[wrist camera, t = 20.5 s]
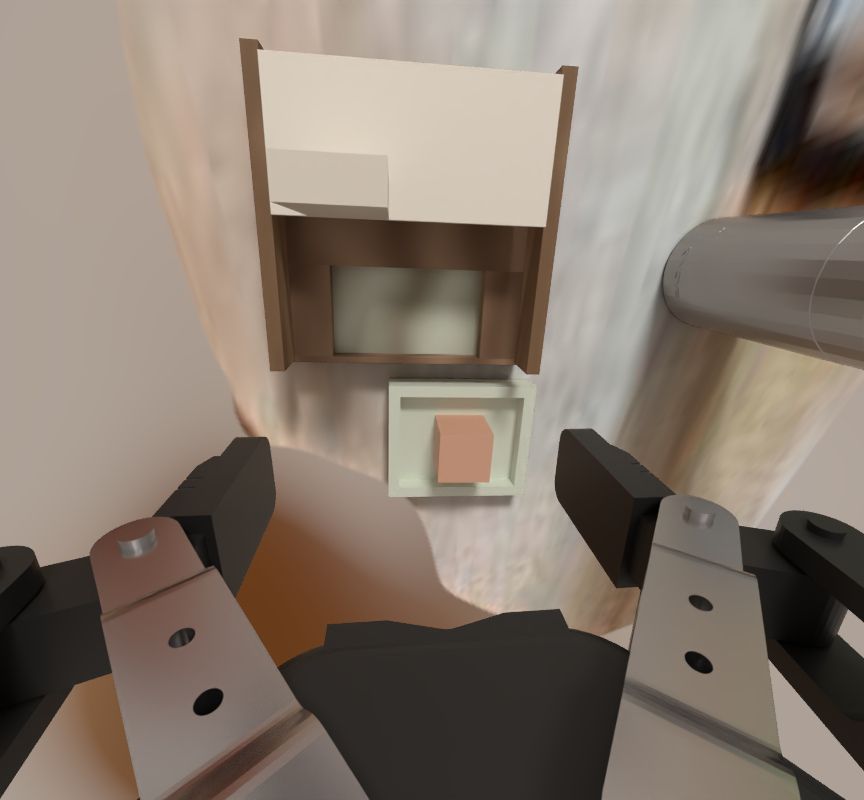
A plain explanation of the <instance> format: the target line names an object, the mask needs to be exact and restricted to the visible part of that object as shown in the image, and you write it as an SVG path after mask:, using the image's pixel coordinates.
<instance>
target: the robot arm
mask: <svg viewBox="0 0 864 800" xmlns="http://www.w3.org/2000/svg"><path fill="white" fill-rule="evenodd" d="M663 292H664V297H665V300H666V303H667V305H668V307H669V309H670V310H671V312H672V313H673V314H674V315H675V316H676V317H677V318H678V319H680V320H681V321H683V322H685V323H687V324H691V325H694V326H698V327H702V328H706V329H709V330H713V331H717V332H720V333H723V334H727V335H731V336H735V337H739V338H742V339H746V340H750V341H754V342H758V343H762V344H765V345H769V346H773V347H777V348H781V349H785V350H788V351H792V352H796V353H800V354H804V355H807V356H811V357H815V358H819V359H823V360H827V361H830V362H834V363H838V364H842V365H847V366H851V367H854V368H858V369H862V370H864V206H855V207H843V208H831V209H820V210H808V211H796V212H785V213H773V214H759V215H748V216H736V217H725V218H718V219H712V220H709V221H707V222H705V223H702V224H700V225H698V226H697V227H695V228H694V229H692V230H691V231H690V232H688V233H687V234H686V235H685V236H684V237H683V238H682V239H681V240H680V242H679V243H678V244H677V246H676V247H675V248H674V250H673V252H672V253H671V255H670V257H669V259H668V262H667V265H666V268H665V271H664V278H663ZM555 491H556V495H557V498H558V501H559V502H560V504H561V505H562V507H563V508H564V510H565V511H566V513H567V514H568V516H569V517H570V519H571V520H572V522H573V523H574V525H575V527H576V528H577V530H578V531H579V533H580V534H581V536H582V537H583V539H584V540H585V542H586V543H587V545H588V546H589V548H590V549H591V551H592V552H593V554H594V555H595V557H596V558H597V560H598V561H599V563H600V564H601V566H602V567H603V569H604V570H605V572H606V573H607V575H608V576H609V578H610V579H611V581H612V582H613V584H614V585H615V587H616V588H627V587H639V589H640V590H641V592H640V596H639V601H638V605H637V610H636V615H635V619H634V624H633V629H632V634H631V638H630V643H629V648H628V650H626V649H625V648H623V647H621V646H619V645H617V644H615V643H613V642H611V641H608V640H606V639H604V638H602V637H599V636H596V635H593V634H591V633H587V632H583V631H579V630H576V629H570V628H568V626H567V624H566V621H565V619H564V617H563V615H562V613H561V611H560V609H553V610H538V611H523V612H508V613H502V614H499V615H496V616H492V617H489V618H486V619H483V620H480V621H476V622H473V623H470V624H467V625H464V626H460V627H457V628H453V629H438V628H432V627H425V626H419V625H412V624H406V623H399V622H393V621H373V622H358V623H342V624H328V625H327V631H326V637H325V642H324V645H323V646H320V647H317V648H314V649H311V650H309V651H307V652H304V653H302V654H300V655H298V656H296V657H294V658H292V659H290V660H288V661H287V662H285V663H283V664H282V665H280V666H279V667H276V665H275V663H274V662H273V660H272V658H271V657H270V655H269V654H268V652H267V650H266V649H265V647H264V645H263V644H262V642H261V641H260V639H259V637H258V636H257V634H256V632H255V631H254V629H253V628H252V626H251V624H250V622H249V621H248V619H247V617H246V616H245V614H244V613H243V611H242V609H241V608H240V606H239V604H238V603H237V601H236V600H235V598H236V595H237V593H238V591H239V589H240V586H241V584H242V582H243V580H244V577H245V575H246V573H247V571H248V568H249V566H250V564H251V561H252V559H253V557H254V555H255V553H256V550H257V548H258V546H259V544H260V541H261V539H262V537H263V534H264V532H265V530H266V528H267V525H268V523H269V521H270V519H271V516H272V514H273V511H274V508H275V500H276V490H275V482H274V474H273V466H272V458H271V451H270V444H269V441H268V439H267V437H236V438H235V439H234V440H233V441H232V442H231V444H230V445H229V446H228V447H227V448H226V450H225V451H224V452H223V453H222V454H221V456H214V457H212V458H210V459H208V460H207V461H205V462H203V463H202V464H200V465H198V466H197V467H196V468H195V469H194V470H193V471H192V472H191V473H190V475H189V476H188V477H187V478H186V480H184V481H183V482H182V484H181V485H180V486H179V487H178V490H176V491H174V493H173V494H172V495H171V496H170V497H169V498H168V499H167V500H166V502H165V503H164V504H163V505H162V506H161V507H160V509H159V510H158V511H157V512H156V513H155V514H154V515H153V516H152V517H150V518H143V519H139V520H136V521H132V522H129V523H127V524H124V525H121V526H119V527H117V528H115V529H113V530H111V531H110V532H108V533H106V534H105V535H103V536H102V537H101V538H100V539H99V540H98V541H97V542H96V543H95V544H94V545H93V547H92V548H91V550H90V556H87V557H83V558H79V559H75V560H70V561H65V562H61V563H57V564H53V565H48V566H44V567H40V566H39V564H38V561H37V558H36V556H35V553H34V551H33V550H32V549H30V548H29V547H25V546H7V547H0V798H1V796H2V795H3V794H4V792H5V790H6V789H7V787H8V786H9V784H10V783H11V781H12V780H13V778H14V777H15V775H16V774H17V772H18V771H19V769H20V768H21V766H22V765H23V763H24V761H25V760H26V759H27V757H28V756H29V754H30V752H31V751H32V749H33V748H34V746H35V745H36V743H37V742H38V740H39V739H40V737H41V736H42V734H43V733H44V731H45V729H46V728H47V727H48V725H49V724H50V722H51V721H52V719H53V717H54V716H55V714H56V713H57V711H58V710H59V708H60V707H61V705H62V704H63V702H64V701H65V699H66V698H67V696H68V695H69V693H70V692H71V690H72V688H73V687H74V685H76V684H79V683H82V682H85V681H88V680H91V679H95V678H97V677H101V676H104V675H107V674H110V673H113V678H114V682H115V687H116V691H117V696H118V700H119V705H120V710H121V714H122V719H123V723H124V728H125V732H126V737H127V741H128V745H129V750H130V755H131V760H132V764H133V769H134V773H135V778H136V783H137V787H138V792H139V796H140V797H139V798H138V799H137V800H845V799H844V798H842V797H841V796H839V795H838V794H837V793H835V792H834V791H832V790H831V789H829V788H828V787H826V786H825V785H823V784H822V783H821V782H819V781H818V780H816V779H815V778H813V777H812V776H811V775H809V774H807V773H806V772H805V771H803V770H802V769H800V768H799V767H797V766H796V765H795V764H793V763H792V762H790V761H789V760H787V759H786V758H784V757H783V756H782V753H781V749H780V744H779V736H778V728H777V721H776V714H775V707H774V700H773V692H772V684H771V677H770V670H769V663H768V659H769V660H770V661H771V662H772V664H773V665H774V666H775V667H776V668H777V669H778V671H779V672H780V673H781V674H782V675H783V676H784V678H785V679H786V680H787V681H788V682H789V684H790V685H791V686H792V687H793V688H794V689H795V691H796V692H797V693H798V694H799V695H800V697H801V698H802V699H803V700H804V701H805V702H806V703H807V705H808V706H809V707H810V708H811V709H812V711H814V713H815V714H816V715H817V716H818V718H819V719H820V720H821V721H822V722H823V724H824V725H825V726H826V727H827V728H828V729H829V730H830V732H831V733H832V734H833V735H834V736H835V738H836V739H837V740H838V741H839V742H840V743H841V745H842V746H843V747H844V748H845V749H846V751H847V752H848V753H849V754H850V755H851V756H852V757H853V759H854V760H855V761H856V762H857V763H858V765H859V766H860V767H861V768H862V769H863V770H864V658H863V657H862V656H861V655H860V654H858V653H857V652H856V651H855V650H854V649H853V648H852V647H851V646H850V645H849V644H848V643H847V642H845V641H844V640H843V639H842V638H841V637H840V636H839V635H838V634H837V633H838V631H839V629H840V626H841V624H842V622H843V620H844V617H845V615H846V613H847V610H848V609H849V610H850V611H851V612H852V613H854V614H855V615H856V616H857V617H858V618H859V619H861V620H862V621H863V622H864V534H863V533H862V532H860V531H858V530H857V529H855V528H853V527H851V526H850V525H848V524H846V523H843V522H841V521H839V520H836V519H833V518H831V517H827V516H824V515H821V514H817V513H813V512H807V511H796V510H795V511H787V512H784V513H782V514H781V515H780V518H779V521H778V524H777V527H776V530H775V531H771V530H765V529H758V528H751V527H744V526H739V524H738V521H737V519H736V517H735V516H734V515H733V514H732V513H730V512H729V511H728V510H726V509H725V508H723V507H722V506H720V505H718V504H716V503H713V502H711V501H708V500H706V499H702V498H699V497H695V496H689V495H676V494H675V493H674V492H673V491H672V490H670V489H669V488H668V487H667V486H666V485H665V484H663V483H662V482H661V481H660V480H659V479H658V478H657V477H655V476H654V475H653V474H652V473H649V471H648V470H647V469H646V468H645V467H644V466H643V465H640V463H639V462H638V461H637V460H636V459H635V458H633V457H632V456H631V455H630V454H629V453H627V452H625V451H623V450H621V449H619V448H617V447H615V446H613V445H610V444H609V443H608V442H607V441H605V440H604V439H603V438H602V437H601V436H600V435H599V434H598V433H597V432H595V431H594V430H593V429H565V430H563V431H562V433H561V436H560V442H559V450H558V458H557V466H556V474H555Z"/></svg>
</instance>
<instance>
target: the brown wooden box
mask: <svg viewBox="0 0 864 800" xmlns="http://www.w3.org/2000/svg"><path fill="white" fill-rule="evenodd" d="M239 41H240V52H241V63H242V73H243V84H244V95H245V105H246V116H247V127H248V137H249V148H250V159H251V169H252V180H253V191H254V201H255V212H256V223H257V234H258V244H259V255H260V266H261V276H262V287H263V298H264V308H265V319H266V330H267V340H268V351H269V362H270V371H285V370H286V369H287V368H288V367H289V366H290V365H291V363H292V362H347V363H416V364H485V365H517V366H518V367H519V368H520V369H521V370H522V371H523V372H525V373H526V374H539V371H540V364H541V356H542V348H543V340H544V332H545V325H546V317H547V309H548V301H549V293H550V285H551V278H552V270H553V262H554V254H555V246H556V239H557V231H558V223H559V215H560V207H561V199H562V192H563V184H564V176H565V168H566V160H567V153H568V145H569V137H570V129H571V121H572V113H573V106H574V98H575V90H576V82H577V74H578V67H575V66H562V67H561V68H560V69H559V70H558V71H557V72H556V73H555V74H564V78H563V86H562V95H561V103H560V111H559V120H558V128H557V137H556V145H555V153H554V162H553V170H552V179H551V187H550V196H549V204H548V212H547V221H546V227H520V226H498V225H477V224H455V223H434V222H412V221H390V220H369V219H347V218H326V217H304V216H282V215H272V214H271V210H270V198H269V186H268V174H267V162H266V150H265V137H264V125H263V113H262V101H261V89H260V77H259V65H258V52H257V49H260V50H264V49H263V47H262V46H261V44H260V43H259V41H258V40H254V39H242V38H239Z"/></svg>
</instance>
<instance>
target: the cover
mask: <svg viewBox="0 0 864 800" xmlns="http://www.w3.org/2000/svg"><path fill="white" fill-rule="evenodd" d="M257 52H258V65H259V77H260V89H261V101H262V113H263V125H264V137H265V150H266V162H267V174H268V186H269V198H270V210H271V214H272V215H282V216H304V217H326V218H347V219H369V220H390V221H412V222H434V223H455V224H477V225H498V226H520V227H546V221H547V212H548V204H549V196H550V187H551V179H552V170H553V162H554V153H555V145H556V137H557V128H558V120H559V111H560V103H561V95H562V86H563V78H564V74H552V73H540V72H528V71H516V70H503V69H491V68H479V67H467V66H455V65H442V64H430V63H418V62H406V61H394V60H382V59H369V58H357V57H345V56H333V55H321V54H308V53H296V52H284V51H272V50H260V49H257Z"/></svg>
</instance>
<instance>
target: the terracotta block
mask: <svg viewBox="0 0 864 800" xmlns="http://www.w3.org/2000/svg"><path fill="white" fill-rule="evenodd" d="M493 441H494V434H493V432H492V430H491V428H490V426H489V425H488V423H487V421H486V419H485V417H484V415H435V430H434V450H433V460H434V466H435V471H436V476H437V481H438V483H473V482H489V480H490V470H491V461H492V451H493Z"/></svg>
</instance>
